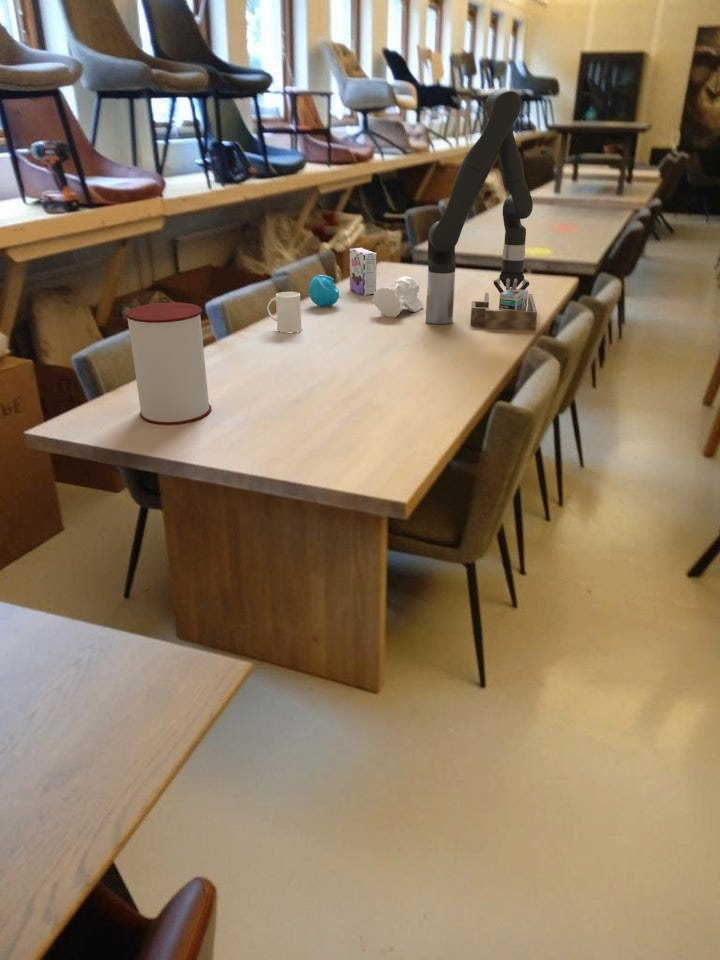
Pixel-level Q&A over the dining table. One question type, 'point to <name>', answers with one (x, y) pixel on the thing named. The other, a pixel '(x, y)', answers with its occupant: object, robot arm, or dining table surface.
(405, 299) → the cherub figurine
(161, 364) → the container
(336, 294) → the sphere
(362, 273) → the candy box
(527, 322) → the wooden tray
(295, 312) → the mug
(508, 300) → the light bulb box
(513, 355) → the dining table surface
